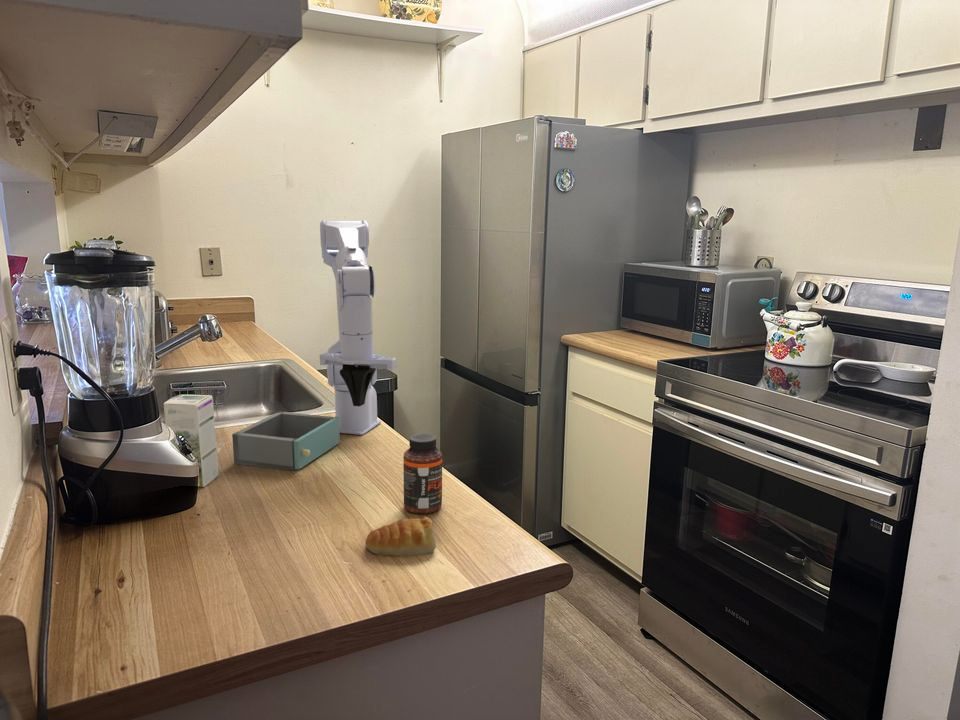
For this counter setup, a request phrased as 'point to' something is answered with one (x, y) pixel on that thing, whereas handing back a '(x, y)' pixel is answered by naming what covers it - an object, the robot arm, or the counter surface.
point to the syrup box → (195, 430)
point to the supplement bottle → (422, 475)
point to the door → (316, 442)
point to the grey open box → (273, 439)
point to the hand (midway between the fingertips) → (358, 404)
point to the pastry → (403, 538)
